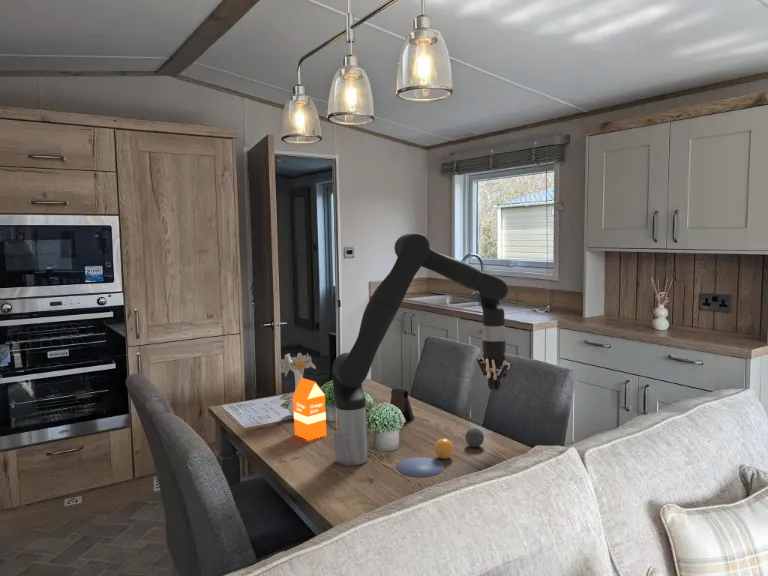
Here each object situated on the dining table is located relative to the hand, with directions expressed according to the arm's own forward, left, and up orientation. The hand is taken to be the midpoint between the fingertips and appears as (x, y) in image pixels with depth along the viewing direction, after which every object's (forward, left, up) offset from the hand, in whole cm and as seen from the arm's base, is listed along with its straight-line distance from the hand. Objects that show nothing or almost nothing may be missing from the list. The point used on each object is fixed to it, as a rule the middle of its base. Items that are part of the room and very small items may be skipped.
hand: (494, 389), depth 186 cm
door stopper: (-11, +36, -17) cm, 41 cm away
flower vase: (-36, +68, -17) cm, 79 cm away
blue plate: (-34, 0, -17) cm, 38 cm away
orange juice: (-44, +46, -17) cm, 66 cm away
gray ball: (-10, 0, -14) cm, 17 cm away
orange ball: (-24, 0, -14) cm, 28 cm away
